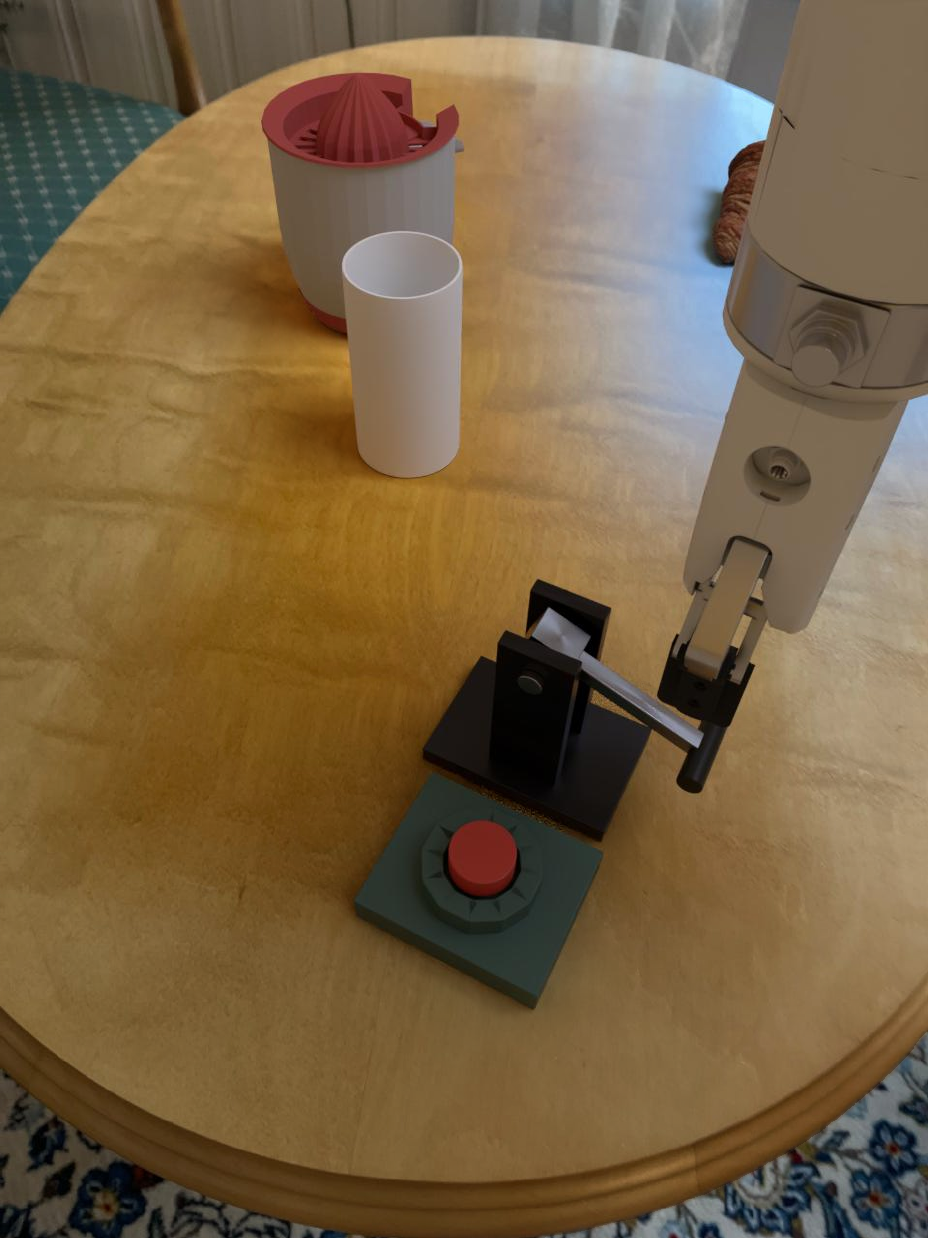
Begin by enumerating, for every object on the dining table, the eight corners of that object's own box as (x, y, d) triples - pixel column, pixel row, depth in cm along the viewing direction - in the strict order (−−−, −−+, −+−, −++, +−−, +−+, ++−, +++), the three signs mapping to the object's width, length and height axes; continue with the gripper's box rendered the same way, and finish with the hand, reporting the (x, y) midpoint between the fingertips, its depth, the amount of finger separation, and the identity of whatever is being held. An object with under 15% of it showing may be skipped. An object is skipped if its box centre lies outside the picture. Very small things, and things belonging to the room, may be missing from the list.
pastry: (871, 272, 95) (901, 193, 88) (713, 267, 95) (733, 188, 88) (834, 183, 105) (859, 107, 99) (692, 179, 105) (708, 102, 99)
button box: (599, 867, 56) (608, 837, 53) (534, 1010, 51) (540, 986, 48) (432, 788, 59) (431, 755, 56) (355, 916, 54) (350, 887, 51)
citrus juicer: (505, 303, 90) (519, 76, 75) (352, 377, 83) (332, 143, 68) (403, 231, 98) (395, 10, 82) (254, 293, 91) (215, 65, 75)
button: (526, 851, 53) (528, 838, 52) (496, 908, 51) (498, 895, 50) (467, 823, 54) (467, 809, 53) (436, 878, 52) (436, 864, 51)
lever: (717, 729, 55) (741, 714, 53) (687, 799, 52) (712, 786, 50) (541, 608, 55) (559, 588, 53) (502, 673, 52) (519, 654, 50)
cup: (337, 437, 79) (317, 257, 66) (416, 396, 82) (412, 217, 69) (399, 493, 75) (390, 314, 62) (480, 447, 78) (487, 269, 65)
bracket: (649, 739, 62) (689, 614, 52) (601, 842, 57) (635, 728, 47) (480, 666, 65) (487, 535, 55) (422, 759, 60) (418, 635, 50)
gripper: (919, 506, 24) (752, 821, 38) (1026, 192, 34) (862, 533, 47) (637, 411, 26) (574, 741, 40) (812, 141, 36) (714, 481, 49)
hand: (730, 628), depth 43 cm, fingers open, 9 cm apart
